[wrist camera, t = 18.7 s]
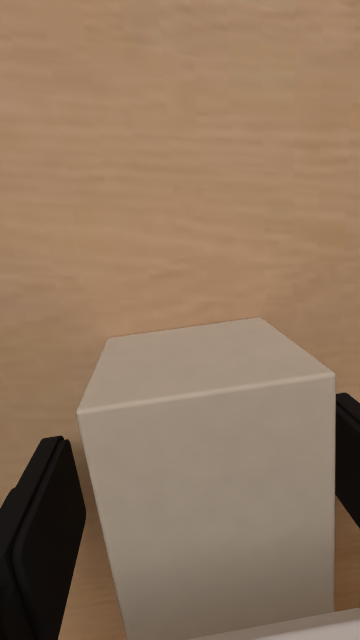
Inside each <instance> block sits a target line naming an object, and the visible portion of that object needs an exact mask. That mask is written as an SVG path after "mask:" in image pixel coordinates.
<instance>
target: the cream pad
mask: <svg viewBox="0 0 360 640" xmlns="http://www.w3.org/2000/svg"><path fill="white" fill-rule="evenodd" d="M76 416H77V420H78V425H79V429H80V434H81V438H82V443H83V447H84V451H85V456H86V460H87V465H88V469H89V474H90V478H91V482H92V487H93V491H94V496H95V500H96V505H97V509H98V513H99V518H100V522H101V527H102V531H103V536H104V540H105V545H106V549H107V553H108V558H109V562H110V567H111V571H112V576H113V580H114V584H115V589H116V593H117V598H118V602H119V607H120V611H121V615H122V620H123V624H124V629H125V633H126V638H127V640H188V639H193V638H198V637H203V636H209V635H214V634H219V633H225V632H230V631H235V630H240V629H246V628H251V627H256V626H262V625H267V624H272V623H278V622H283V621H289V620H294V619H299V618H305V617H310V616H315V615H321V614H326V613H332V612H334V552H335V422H336V376H335V373H334V372H333V371H332V370H331V369H329V368H328V367H326V366H325V365H324V364H322V363H321V362H320V361H318V360H317V359H316V358H314V357H313V356H312V355H310V354H309V353H308V352H306V351H305V350H304V349H302V348H301V347H300V346H298V345H297V344H296V343H294V342H293V341H292V340H290V339H289V338H288V337H286V336H285V335H284V334H282V333H281V332H280V331H278V330H277V329H276V328H274V327H273V326H272V325H270V324H269V323H268V322H266V321H265V320H263V319H262V318H260V317H258V318H251V319H244V320H236V321H229V322H222V323H215V324H207V325H200V326H193V327H185V328H178V329H171V330H163V331H156V332H149V333H142V334H134V335H127V336H120V337H112V338H108V339H107V341H106V344H105V346H104V348H103V351H102V353H101V355H100V358H99V360H98V362H97V364H96V367H95V369H94V371H93V374H92V376H91V378H90V381H89V383H88V385H87V387H86V390H85V392H84V394H83V397H82V399H81V401H80V404H79V406H78V408H77V411H76Z"/></svg>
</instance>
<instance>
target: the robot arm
mask: <svg viewBox="0 0 360 640" xmlns="http://www.w3.org/2000/svg"><path fill="white" fill-rule="evenodd" d="M335 495H336V496H337V497H338V499H339V500H340V502H341V503H342V504H343V506H344V507H345V509H346V510H347V512H348V513H349V514H350V516H351V517H352V519H353V520H354V521H355V523H356V524H357V526H358V527H359V528H360V403H359V402H357V401H356V400H355V399H354V398H352V397H351V396H350V395H349V394H347V393H339V394H336V422H335ZM85 520H86V508H85V504H84V499H83V495H82V491H81V487H80V482H79V478H78V474H77V470H76V466H75V461H74V457H73V453H72V449H71V444H70V441H69V440H68V439H67V440H64V438H63V437H62V436H56V437H49V438H43V439H42V440H41V441H40V443H39V445H38V447H37V449H36V451H35V453H34V454H33V456H32V458H31V460H30V462H29V464H28V465H27V467H26V469H25V471H24V473H23V475H22V476H21V478H20V480H19V482H18V484H17V486H16V487H15V488H13V489H12V490H11V491H10V493H9V494H8V496H7V498H6V499H5V501H4V503H3V505H2V506H1V508H0V640H58V636H59V632H60V628H61V624H62V619H63V615H64V611H65V606H66V602H67V598H68V594H69V589H70V585H71V581H72V576H73V572H74V568H75V564H76V559H77V555H78V551H79V546H80V542H81V538H82V534H83V529H84V525H85ZM188 640H360V607H359V608H354V609H348V610H343V611H337V612H332V613H326V614H321V615H315V616H310V617H305V618H299V619H294V620H289V621H283V622H278V623H272V624H267V625H262V626H256V627H251V628H246V629H240V630H235V631H230V632H225V633H219V634H214V635H209V636H203V637H198V638H193V639H188Z"/></svg>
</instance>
